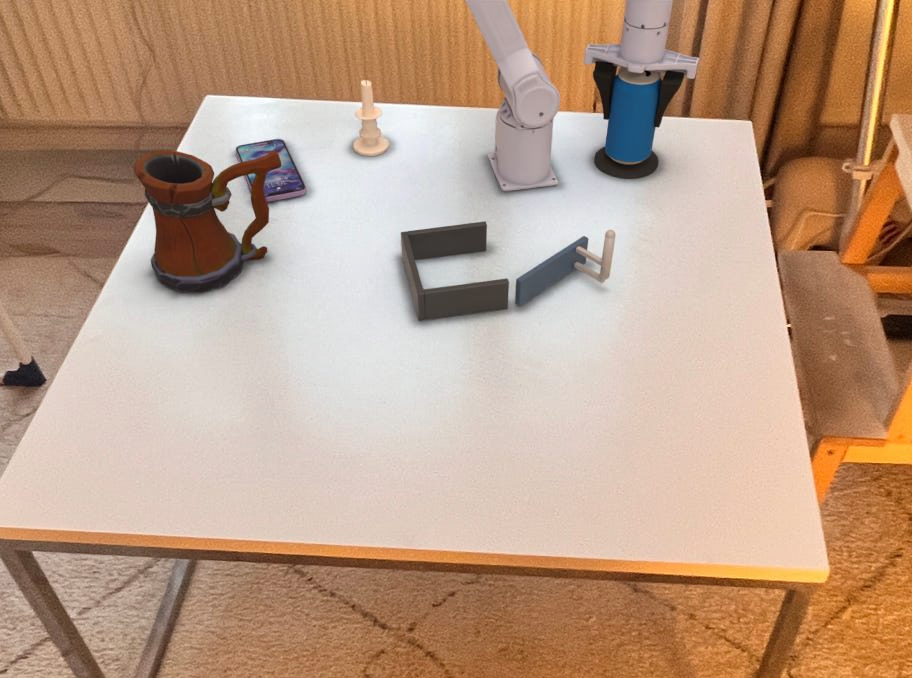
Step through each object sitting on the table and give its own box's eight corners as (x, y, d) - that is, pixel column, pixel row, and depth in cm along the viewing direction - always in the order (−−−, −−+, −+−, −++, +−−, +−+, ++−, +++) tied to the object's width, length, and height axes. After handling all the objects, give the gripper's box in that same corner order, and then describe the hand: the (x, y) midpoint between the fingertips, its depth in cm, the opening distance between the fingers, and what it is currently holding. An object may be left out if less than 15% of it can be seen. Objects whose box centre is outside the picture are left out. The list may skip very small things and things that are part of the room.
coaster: (586, 149, 134) (586, 146, 134) (645, 142, 135) (646, 139, 135) (605, 182, 128) (605, 180, 128) (667, 174, 129) (667, 172, 129)
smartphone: (283, 137, 137) (308, 189, 127) (283, 143, 137) (308, 195, 128) (233, 145, 135) (255, 199, 126) (234, 151, 136) (256, 205, 126)
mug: (291, 228, 123) (274, 122, 112) (300, 280, 115) (283, 173, 104) (153, 247, 121) (122, 141, 110) (154, 301, 113) (120, 194, 102)
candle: (395, 143, 137) (391, 75, 129) (376, 159, 134) (370, 90, 126) (366, 134, 139) (360, 66, 131) (346, 150, 136) (339, 82, 128)
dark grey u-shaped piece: (485, 247, 119) (485, 220, 116) (507, 309, 110) (509, 282, 108) (402, 258, 118) (400, 231, 115) (418, 321, 109) (417, 294, 106)
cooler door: (618, 280, 113) (626, 225, 107) (551, 326, 108) (556, 270, 102) (581, 260, 116) (587, 205, 110) (514, 303, 111) (517, 248, 105)
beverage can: (659, 153, 131) (673, 71, 122) (634, 172, 128) (646, 89, 119) (620, 138, 134) (632, 57, 125) (595, 157, 131) (604, 74, 122)
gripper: (582, 25, 116) (573, 126, 126) (699, 40, 113) (680, 142, 123) (595, 2, 121) (585, 101, 131) (708, 16, 117) (689, 117, 127)
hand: (632, 120), depth 127 cm, fingers closed on beverage can, 6 cm apart
